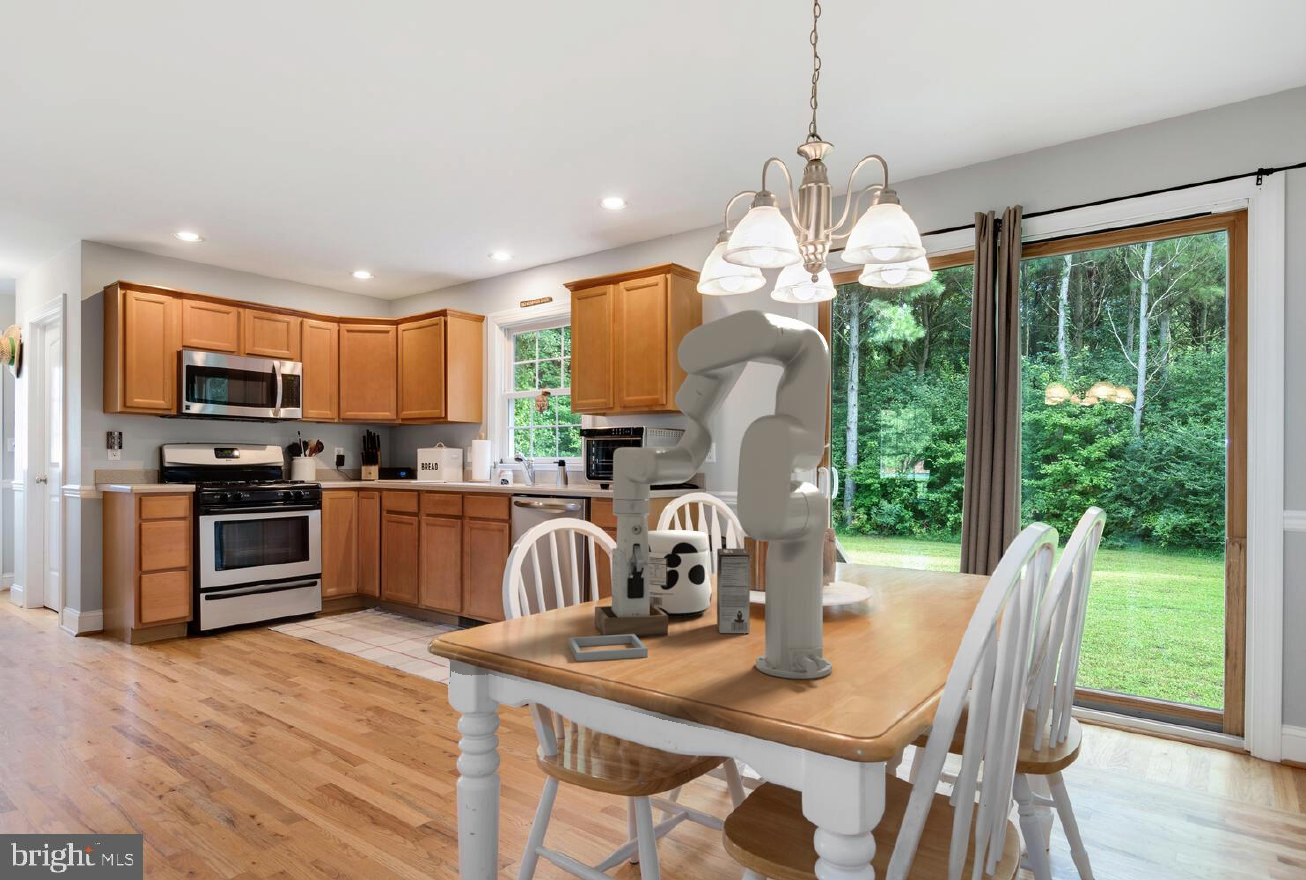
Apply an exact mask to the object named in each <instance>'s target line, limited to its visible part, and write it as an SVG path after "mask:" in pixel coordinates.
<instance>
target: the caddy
mask: <svg viewBox="0 0 1306 880" xmlns="http://www.w3.org/2000/svg"><path fill="white" fill-rule="evenodd" d="M594 627H595V628H596V629H597V631H598V632H599V633H600V636H609V635H627V634H635V635H636V636H637V637H638V639H639V638H640V639H641V638H657V637H668V636H669V617H668V615H667V614H665V613H664V612H663V611H662V610H660V609H659V608H658V607H657V606H655V605H654V604H650V616H635V617H617V615H616V614H615V613H614V612H613V611H612V605H607V606H606V605H603V606H595V607H594Z"/></svg>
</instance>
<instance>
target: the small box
mask: <svg viewBox="0 0 1306 880" xmlns="http://www.w3.org/2000/svg"><path fill="white" fill-rule="evenodd" d="M611 555H612V557H611V606H612V611H613V612H614V613H615V614H616V615H617V617H635V616H650V553H649V563H648V565H646V563H643V568H644V570H643V572H644V597H643V598H636V599H629V598H628V597H627V586H628V578H629V565H626V563H625V553H623V552H621V551H619V550H618V549H617V547H614V548H612V552H611ZM629 561H630V562H636V561H635V556H634V553H633V554H632V557H631V558H629ZM633 568H634V566H632V572H633Z"/></svg>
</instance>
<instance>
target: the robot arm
mask: <svg viewBox="0 0 1306 880" xmlns="http://www.w3.org/2000/svg"><path fill="white" fill-rule="evenodd" d="M677 360H678V364H679V367H680V368H681V369H682V370H683V371H684V372H686V373H687V375H686V377H685V379H684V380H683V382H682V384H681V385H680V388H679V389H678V390H677V391H676V394H675V397H674V402H675V405H676V406H677V408H678V409H679V411H680V412H681V413H683V414H684V415H685V416H686V417H687V419H688V420H687V426H686V429H685V431H684V432H683V435H682V436H681V438H680V440H679V441H678V443H677V444H676V446H667V445H666V446H663V445H662V446H661V445H658V446H643V447H618V448H616V449H615V450H614V451H613V456H612V457H613V459H612V460H613V461H612V462H613V463H612V467H613V468H612V515H613V516H615V517H617V520H616V521H617V522H616V548H617V549H618V550H619V551H621V552H623V553H625V563H626V565H629V578H628V586H627V597H628V598H629V599H636V598H643V597H644V572H643V570H644V568H643V563H646V565H648V563H649V541H648V531H649V527H648V526H649V525H648V516H650V514H651V513H650V511H651V510H650V509H651V503H650V502H651V501H650V500H651V499H650V498H651V486H655V485H656V486H657V485H660V486H661V485H662V486H663V485H673V484H675V485H676V484H683V483H687V482H688V481H689V480H691V479H692V478H693V477H694V476H695V475H696V474H697V473H698V472H699V470H700V469H701V467H702V466H703V465H704V462H705V461H706V459H707V457H708V456H709V454H710V452H711V449H712V447H713V442H714V437H715V423H714V422H715V421H714V420H715V418H716V416H717V415H718V413H719V411H720V409H721V408H722V406H723V405H724V403H725V401H726V400H727V398H728V396H729V394H730V393H731V392H732V390H733V389H734V387H735V385H736V384H737V382H738V381H739V379H740V377H741V376H742V374H743V373H744V371H745V369H746V367H747V366H748V363H749V362H753V363H761V364H765V365H772V366H773V365H774V366H778V367H781V368H783V373H782V374H781V376H780V377H779V381H778V383H777V387H776V391H775V404H774V405H775V408H774V414H766V415H763V416H759V417H757V418H756V419H755V420H753V421H752V422H751V423H750V424H749V425H748V427H746V430H745V432H744V434H743V436H742V439H741V442H740V448H739V456H738V457H739V458H738V478H737V495H736V513H737V519H738V522H739V525H740V527H741V528H742V530H743V532H744V533H745V534H746V535H747V536H748V537H749V538H751V539H752V540H755V541H759V542H769V543H768V547H767V552H766V558H765V576H764V577H765V579H764V582H765V585H764V587H765V590H764V594H765V597H764V600H765V601H764V605H765V607H764V610H765V611H764V615H765V620H764V622H765V623H764V624H765V626H764V629H765V630H764V631H765V632H764V637H765V638H764V641H765V642H764V644H765V646H764V649H765V650H764V654H760V655H759V656H758V657H756V659H755V667H756V668H757V670H758V671H760V672H762V673H764V674H767V675H769V676H772V677H773V676H774V677H778V678H785V679H791V680H792V679H793V680H797V679H798V680H804V679H806V680H807V679H817V678H822V677H826V676H828V675H830V674H831V673H832V671H833V663H832V662H831V661H830V660H829V659H828V658H825V657H824V656H823V654H824V653H823V650H824V649H823V647H824V646H823V644H824V643H823V637H824V636H823V633H824V632H823V631H824V630H823V629H824V628H823V627H824V625H823V624H824V623H823V616H824V615H823V613H824V612H823V610H824V609H823V608H824V607H823V605H824V604H823V601H824V600H823V599H824V597H823V594H824V593H823V591H824V590H823V589H824V588H823V586H824V585H823V583H824V582H823V580H824V578H823V577H824V549H825V538H826V535H827V534H826V532H827V527H828V522H829V521H828V520H829V507H828V506H829V505H828V503H827V499H826V497H825V495H824V493H822V491H821V490H820V489H819V488H818V487H817V486H816V485H814V484H812V483H810V482H809V481H804V480H794V479H793V480H792V479H791V478H792V474H796V473H797V474H798V473H799V474H800V473H806V472H809V471H812V470H814V469H815V468H817V467H818V466H819V465H820V463H821V462H822V458H823V456H824V452H825V451H824V450H825V443H826V442H825V439H826V424H827V410H828V406H827V405H828V387H829V379H830V378H829V377H830V369H831V352H830V348H829V346H828V343H827V341H826V339H825V337H824V336H823V334H822V333H821V332H820V331H819V330H817V329H816V328H815V327H813V326H812V325H810V324H808V323H806V322H804V321H801V320H798V319H796V318H792V317H789V316H784V315H783V314H781V315H780V314H775V313H772V312H768V311H763V310H758V309H748V310H747V309H746V310H742V311H741V310H740V311H738V312H736V313H733V314H730V315H729V314H728V315H727V316H724V317H721V318H718V319H715V320H712V321H709V322H707V323H705V324H701V325H698V326H697V327H695V328H693V329H691V330H690V331H689V332H687V333H686V334H685V336H683V338H682V339H681V341H680V343H679V346H678V349H677ZM633 553H634V556H635V561H636V562H630V561H629V558H631V557H632V554H633ZM632 566H634V568H633V572H632Z"/></svg>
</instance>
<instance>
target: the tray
mask: <svg viewBox="0 0 1306 880" xmlns="http://www.w3.org/2000/svg"><path fill="white" fill-rule="evenodd" d="M623 644H631V645H632V646H633V647H629V648H628V647H627V648H611V649H597V650H594V649H593V650H582V651H581V649H580V647H591V646H592V647H593V646H604V645H605V646H607V645H608V646H609V645H623ZM568 648H569V649H570V651H571V653H572V654H573V657H574V658H575V660H576V662H588V661H589V662H590V661H592V662H593V661H602V660H603V661H605V660H606V661H607V660H619V659H620V660H621V659H634V658H636V659H637V658H648V656H649V655H648V653H649V650H648V647H647V646H646V645H645V644H644V643H643V642H642V641H641V640H640V639H639V638H638V637H637V636H636V635H635V634H627V635H609V636H602V635H596V636H595V635H593V636H577V637H568Z"/></svg>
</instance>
